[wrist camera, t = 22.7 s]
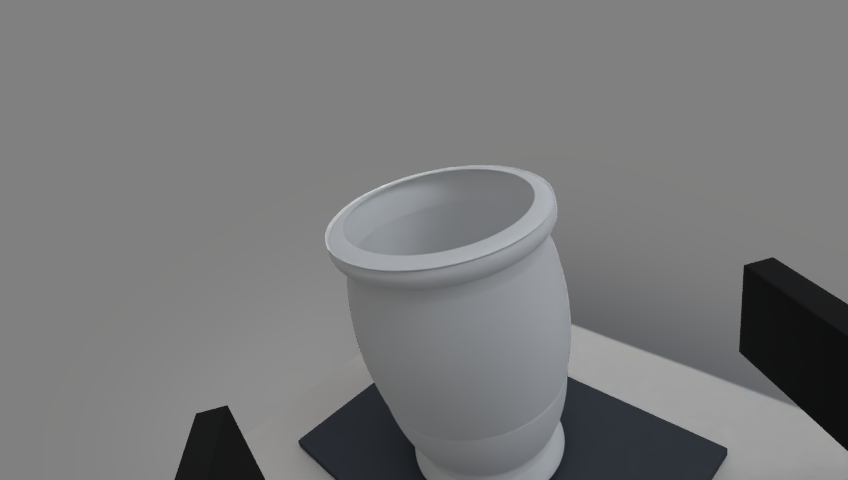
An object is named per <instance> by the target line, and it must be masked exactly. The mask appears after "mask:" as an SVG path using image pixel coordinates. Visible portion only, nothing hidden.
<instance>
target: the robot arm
mask: <svg viewBox="0 0 848 480" xmlns="http://www.w3.org/2000/svg"><path fill="white" fill-rule="evenodd" d="M739 352H740V353H741V354H742V355H744V357H746V358H747V359H748V360H749V361H750V362H751V363H752V364H753V365H754V366H755V367H756V368H758V369H759V370H760V371H761V372H762V373H763V374H764V375H765V376H767V377H768V379H770V380H771V381H772V382H773V383H774V384H775V385H776V386H777V387H778V388H779V389H781V390H782V391H783V392H784V393H785V394H786V395H787V396H788V397H789V398H790V399H791V400H793V401H794V402H795V403H796V404H797V405H798V406H799V407H800V408H801V409H802V410H803V411H805V412H806V413H807V414H808V415H809V416H810V417H811V418H812V419H813V420H814V421H815V422H817V423H818V424H819V425H820V426H821V427H822V428H823V429H824V430H825V431H826V432H827V433H829V434H830V435H831V436H832V437H833V438H834V439H835V440H836V441H837V442H838V443H839V444H841V445H842V446H843V447H844V448H845V449H846V450H847V451H848V304H846V303H845V302H843V301H842V300H840V299H838V298H837V297H835V296H834V295H832V294H830V293H829V292H827V291H826V290H824V289H823V288H821V287H819V286H818V285H816V284H814V283H813V282H811V281H810V280H808V279H806V278H805V277H803V276H802V275H800V274H798V273H797V272H795V271H794V270H792V269H791V268H789V267H788V266H786V265H784V264H783V263H781V262H780V261H778V260H776V259H775V258H769V259H765V260H762V261H758V262H754V263H750V264H747V265H744V274H743V292H742V310H741V328H740V346H739ZM175 480H265V478H264V476H263V474H262V472H261V470H260V469H259V467H258V465H257V463H256V461H255V459H254V457H253V455H252V453H251V451H250V449H249V447H248V445H247V443H246V441H245V439H244V437H243V435H242V433H241V431H240V429H239V428H238V425H237V423H236V421H235V419H234V417H233V415H232V413H231V411H230V410H229V408H228V406H223V407H219V408H216V409H212V410H208V411H204V412H201V413H197V414H196V416H195V419H194V422H193V425H192V428H191V431H190V434H189V437H188V440H187V443H186V446H185V450H184V452H183V456H182V459H181V462H180V465H179V468H178V471H177V474H176V477H175Z"/></svg>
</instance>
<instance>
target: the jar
mask: <svg viewBox="0 0 848 480" xmlns="http://www.w3.org/2000/svg"><path fill="white" fill-rule="evenodd" d="M557 211H558V210H557V202H556V198H555V193H554V191H553V188H552V187H551V185H550V184H549V183H548V182H547V181H546V180H545V179H543V178H542V177H540V176H538V175H536V174H534V173H532V172H529V171H526V170H522V169H518V168H513V167H505V166H493V165H473V166H459V167H451V168H444V169H438V170H433V171H428V172H424V173H420V174H416V175H412V176H408V177H405V178H402V179H399V180H396V181H393V182H391V183H388V184H386V185H383V186H381V187H378V188H376V189H374V190H372V191H370V192H368V193H366V194H364V195H362V196H361V197H359V198H357V199H356V200H354V201H353V202H351V203H350V204H348V205H347V206H346V207H344V208H343V209H342V210H341V211H340V212H339V213H338V214H337V215H336V216H335V217H334V218H333V219H332V221H331V222H330V224H329V226H328V227H327V230H326V233H325V242H326V246H327V248H328V250H329V255H330V257H331V259H332V261H333V263H334V264H335V266H336V267H337V268H338V269H339V270H340V271H341V272H342V273H344V274H345V275H346V276H347V285H348V286H347V287H348V298H349V305H350V311H351V317H352V321H353V326H354V330H355V334H356V338H357V341H358V344H359V348H360V351H361V353H362V356H363V359H364V361H365V364H366V366H367V368H368V371H369V373H370V375H371V377H372V379H373V381H374V383H375V385H376V387H377V388H378V390H379V392H380V394H381V395H382V397H383V399H384V400H385V402H386V403H387V405H388V406H389V409H390V411H391V413H392V415H393V416H394V418H395V420H396V422H397V424H398V425H399V427H400V428H401V430H402V431H403V433H404V434H405V435H406V437H407V438H408V439H409V441H410V442H411V443H412V444H413V445H414V446H415V452H416V458H417V462H418V465H419V468H420V470H421V472H422V473H423V475H424V477H425V478H426V479H427V480H549V479H550V478H551V477H552V476H553V474H554V473H555V471H556V470H557V468H558V466H559V464H560V462H561V459H562V456H563V452H564V445H565V439H564V431H563V427H562V424H561V422H560V417H561V414H562V411H563V407H564V403H565V397H566V390H567V367H568V362H569V354H570V343H571V319H570V318H571V317H570V306H569V298H568V292H567V287H566V282H565V277H564V273H563V269H562V266H561V262H560V259H559V256H558V253H557V250H556V247H555V245H554V242H553V240H552V238H551V235H550V233H551V231H552V229H553V227H554V225H555V222H556V219H557Z"/></svg>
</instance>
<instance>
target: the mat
mask: <svg viewBox="0 0 848 480" xmlns="http://www.w3.org/2000/svg"><path fill="white" fill-rule="evenodd" d="M560 422H561V424H562V427H563V431H564V439H565V445H564V452H563V456H562V459H561V462H560V464H559V466H558V468H557V470H556V471H555V473H554V474H553V476H552V477H551V478H550V479H549V480H711V479H712V478H713V476H714V475H715V473H716V471H717V470H718V468H719V467H720V465H721V464H722V462H723V460H724V459H725V457H726V456H727V448H725V447H723V446H721V445H719V444H716V443H714V442H712V441H710V440H707V439H705V438H703V437H701V436H699V435H696V434H694V433H692V432H690V431H687V430H685V429H683V428H681V427H679V426H676V425H674V424H672V423H670V422H667V421H665V420H663V419H661V418H659V417H656V416H654V415H652V414H650V413H648V412H645V411H643V410H641V409H639V408H636V407H634V406H632V405H630V404H628V403H625V402H623V401H621V400H619V399H616V398H614V397H612V396H610V395H608V394H605V393H603V392H601V391H599V390H596V389H594V388H592V387H590V386H588V385H585V384H583V383H581V382H579V381H576V380H574V379H572V378H570V377H568V376H567V390H566V397H565V403H564V407H563V411H562V414H561V417H560ZM298 442H299V444H300V446H301V447H302V448H303V449H304V450H305V451H306V452H307V453H308V454H309V455H310V456H311V457H313V458H314V459H315V460H316V461H317V462H318V463H319V464H320V465H321V466H322V467H323V468H324V469H325V470H326V471H327V472H328V473H329V474H331V475H332V476H333V477H334V478H335V479H336V480H427V479H426V478H425V477H424V475H423V473H422V472H421V470H420V468H419V465H418V462H417V458H416V452H415V446H414V445H413V444H412V443H411V442H410V441H409V439H408V438H407V437H406V435H405V434H404V433H403V431H402V430H401V428H400V427H399V425H398V424H397V422H396V420H395V418H394V416H393V415H392V413H391V411H390V409H389V406H388V405H387V403H386V402H385V400H384V399H383V397H382V395H381V394H380V392H379V390H378V388H377V387H376V385H375V383H373V384H372V385H370V386H369V387H368V388H366V389H365V390H364V391H362V392H361V393H360V394H358V395H357V396H356V397H355V398H353V399H352V400H351V401H349V402H348V403H347V404H345V405H344V406H343V407H341V408H340V409H339V410H338V411H336V412H335V413H334V414H332V415H331V416H330V417H328V418H327V419H326V420H325V421H323V422H322V423H321V424H319V425H318V426H317V427H315V428H314V429H313V430H311V431H310V432H309V433H308V434H306V435H305V436H304V437H302V438H301V439H300V440H299V441H298Z"/></svg>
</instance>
